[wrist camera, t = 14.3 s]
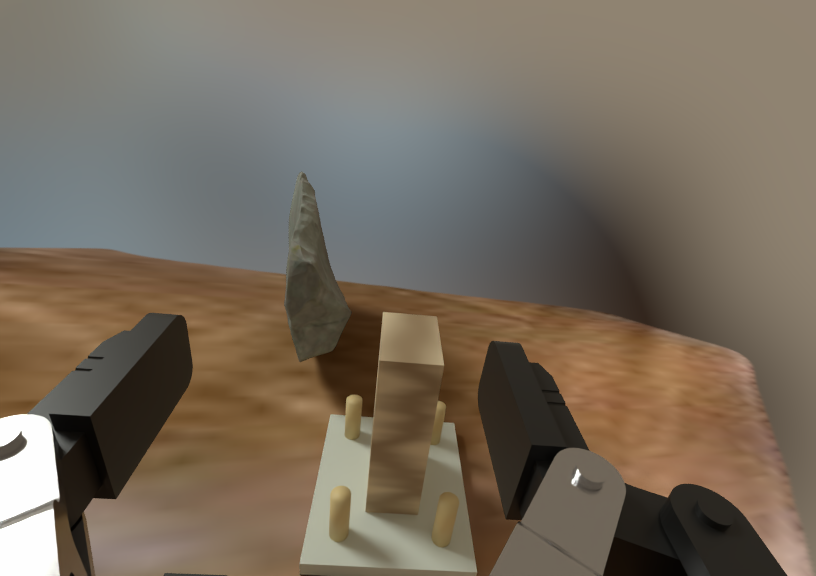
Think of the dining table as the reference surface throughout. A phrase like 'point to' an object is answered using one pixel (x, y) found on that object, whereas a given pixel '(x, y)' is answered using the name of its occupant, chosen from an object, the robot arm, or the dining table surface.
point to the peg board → (385, 532)
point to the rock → (311, 280)
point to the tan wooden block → (403, 412)
